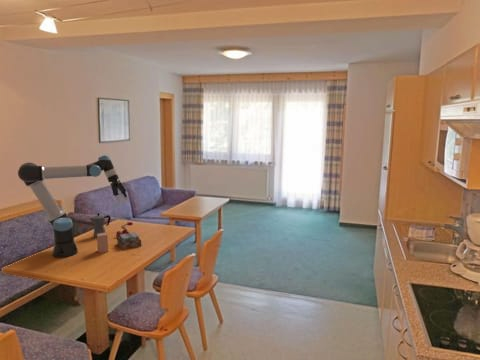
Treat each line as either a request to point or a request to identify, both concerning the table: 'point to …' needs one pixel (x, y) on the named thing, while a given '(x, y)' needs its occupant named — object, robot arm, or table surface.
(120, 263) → the table surface
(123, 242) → the tower base
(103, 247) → the column brick
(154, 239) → the table surface
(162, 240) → the table surface
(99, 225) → the coffeepot
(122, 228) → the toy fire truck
